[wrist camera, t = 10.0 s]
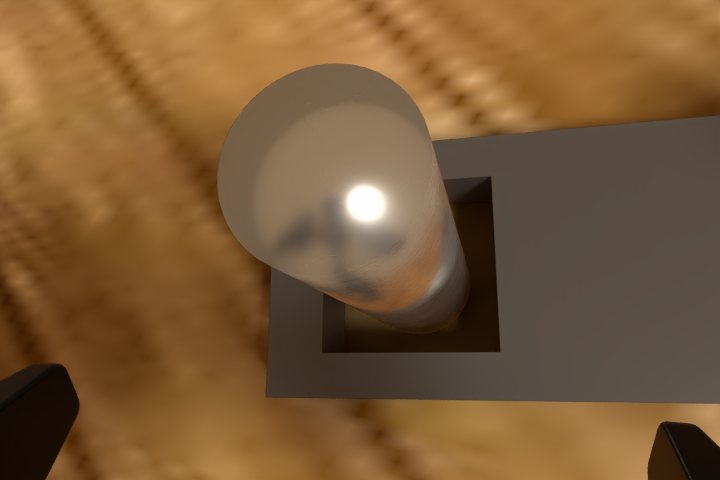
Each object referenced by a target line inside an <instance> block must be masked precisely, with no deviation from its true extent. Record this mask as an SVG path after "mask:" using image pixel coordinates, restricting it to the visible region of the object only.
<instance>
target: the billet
mask: <svg viewBox="0 0 720 480" xmlns="http://www.w3.org/2000/svg"><path fill="white" fill-rule="evenodd" d="M217 187H218V197H219V201H220V206H221V210H222V212H223V215H224V218H225V221H226V223H227V224H228V226H229V228H230V230H231V232H232V233H233V235H234V236H235V237H236V239H237V240H238V242H239V243H240V244H241V245H242V246H243V247H244V248H245V249H246V250H247V251H248V252H249V253H251V254H252V255H253V256H255V257H256V258H257V259H258V260H260V261H262V262H264V263H266V264H267V265H269V266H271V267H273V268H275V269H277V270H279V271H281V272H283V273H285V274H287V275H289V276H291V277H293V278H295V279H297V280H299V281H301V282H303V283H305V284H307V285H309V286H311V287H313V288H315V289H317V290H319V291H322V292H324V293H326V294H328V295H330V296H332V297H334V298H336V299H338V300H340V301H342V302H344V303H346V304H348V305H350V306H352V307H354V308H356V309H358V310H360V311H362V312H364V313H366V314H368V315H370V316H372V317H374V318H376V319H378V320H380V321H382V322H384V323H386V324H388V325H390V326H392V327H394V328H396V329H398V330H401V331H404V332H407V333H413V334H426V333H431V332H435V331H438V330H440V329H442V328H444V327H446V326H447V325H449V324H450V323H451V322H453V321H454V320H455V319H456V318H457V317H458V315H459V314H460V313H461V311H462V310H463V308H464V306H465V304H466V302H467V299H468V296H469V292H470V275H469V270H468V267H467V263H466V260H465V256H464V253H463V249H462V246H461V242H460V239H459V235H458V232H457V228H456V225H455V221H454V218H453V214H452V211H451V207H450V204H449V201H448V197H447V194H446V190H445V187H444V183H443V180H442V176H441V173H440V169H439V166H438V162H437V159H436V155H435V152H434V148H433V145H432V141H431V138H430V134H429V131H428V128H427V125H426V123H425V120H424V118H423V116H422V114H421V112H420V110H419V108H418V107H417V105H416V104H415V102H414V101H413V100H412V98H411V97H410V96H409V95H408V94H407V93H406V92H405V91H404V90H403V89H402V88H401V87H400V86H399V85H398V84H396V83H395V82H394V81H392V80H391V79H389V78H388V77H386V76H384V75H382V74H380V73H378V72H376V71H373V70H371V69H368V68H365V67H360V66H356V65H350V64H323V65H316V66H311V67H307V68H304V69H300V70H298V71H295V72H293V73H290V74H288V75H286V76H284V77H282V78H280V79H278V80H276V81H275V82H273V83H272V84H270V85H269V86H267V87H266V88H265V89H263V90H262V91H261V92H260V93H259V94H258V95H256V96H255V97H254V98H253V99H252V100H251V101H250V102H249V103H248V105H247V106H246V107H245V108H244V109H243V110H242V112H241V113H240V114H239V116H238V117H237V119H236V120H235V122H234V124H233V125H232V127H231V129H230V131H229V133H228V135H227V137H226V140H225V142H224V145H223V148H222V151H221V155H220V160H219V165H218V175H217Z"/></svg>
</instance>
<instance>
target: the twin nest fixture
mask: <svg viewBox="0 0 720 480" xmlns="http://www.w3.org/2000/svg"><path fill="white" fill-rule="evenodd" d="M432 145H433V148H434V152H435V155H436V159H437V162H438V166H439V169H440V173H441V176H442V180H443V183H444V187H445V190H446V194H447V197H448V201H449V204H450V205H451V204H466V203H482V202H492V207H493V226H494V245H495V264H496V283H497V302H498V321H499V340H500V352H436V353H344V331H345V303H344V302H342V301H340V300H338V299H336V298H334V297H332V296H330V295H328V294H326V293H324V292H322V291H319V290H317V289H315V288H313V287H311V286H309V285H307V284H305V283H303V282H301V281H299V280H297V279H295V278H293V277H291V276H289V275H287V274H285V273H283V272H281V271H279V270H277V269H275V268H273V267H271V287H270V309H269V332H268V354H267V377H266V397H273V398H345V399H416V400H488V401H560V402H631V403H703V404H720V115H717V116H706V117H695V118H684V119H672V120H661V121H650V122H639V123H628V124H617V125H605V126H594V127H583V128H572V129H561V130H549V131H538V132H527V133H516V134H505V135H494V136H482V137H471V138H460V139H449V140H438V141H432Z"/></svg>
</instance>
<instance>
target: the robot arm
mask: <svg viewBox="0 0 720 480" xmlns="http://www.w3.org/2000/svg"><path fill="white" fill-rule="evenodd" d="M79 406H80V404H79V398H78V396H77V393H76V391H75V389H74V386H73V384H72V381H71V379H70V377H69V374H68V372H67V370H66V368H65V367H64V366H63V365H60V364H55V363H44V362H40V363H35V364H32V365H30V366H28V367H27V368H25V369H23V370H21V371H19V372H17V373H15V374H13V375H11V376H9V377H7V378H5V379H3V380H1V381H0V480H46V478H47V476H48V474H49V472H50V470H51V468H52V466H53V464H54V462H55V460H56V458H57V456H58V454H59V452H60V450H61V448H62V446H63V444H64V442H65V439H66V437H67V435H68V433H69V431H70V429H71V427H72V425H73V423H74V421H75V419H76V417H77V415H78V412H79ZM648 480H720V447H719V446H718V445H717V444H716V443H715V442H714V441H713V440H712V439H711V438H710V437H708V436H707V435H706V434H705V433H704V432H703V431H702V430H701V429H700V428H699V427H697V426H696V425H693V424H689V423H678V422H668V421H666V422H662V423H661V424H660V425H659V427H658V429H657V433H656V436H655V440H654V444H653V447H652V451H651V454H650V458H649V462H648Z"/></svg>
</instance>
